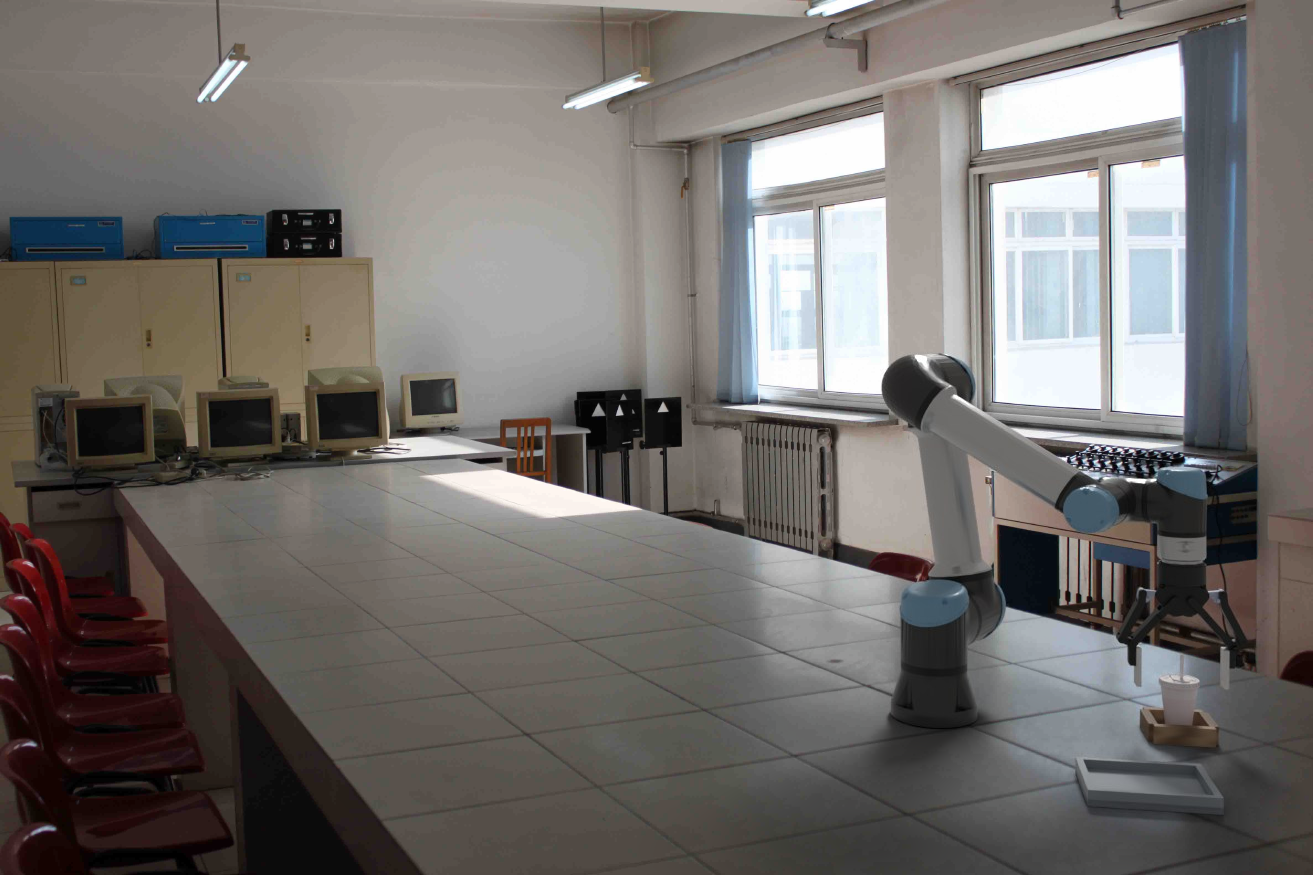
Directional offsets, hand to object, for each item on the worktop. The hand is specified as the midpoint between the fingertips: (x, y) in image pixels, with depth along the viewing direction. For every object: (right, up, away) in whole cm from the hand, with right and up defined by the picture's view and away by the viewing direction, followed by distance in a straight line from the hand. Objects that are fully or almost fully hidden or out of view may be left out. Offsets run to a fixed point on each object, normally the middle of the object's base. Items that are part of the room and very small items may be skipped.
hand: (1180, 686), depth 200 cm
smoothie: (0, -9, +1) cm, 9 cm away
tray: (-16, -11, -24) cm, 31 cm away
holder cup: (0, -8, +1) cm, 8 cm away
